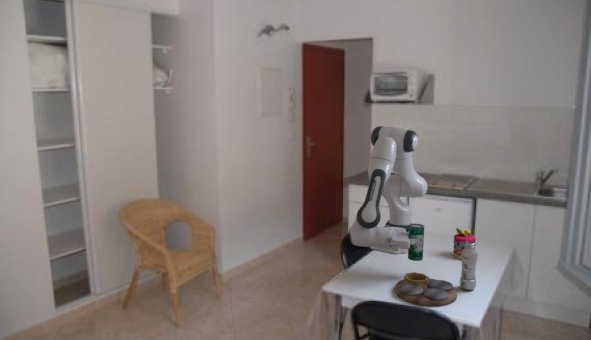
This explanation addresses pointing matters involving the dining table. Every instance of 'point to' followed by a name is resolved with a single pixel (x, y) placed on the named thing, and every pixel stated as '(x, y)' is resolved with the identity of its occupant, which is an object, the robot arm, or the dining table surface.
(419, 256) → the can
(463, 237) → the cake
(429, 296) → the wooden stone platter
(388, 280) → the dining table surface
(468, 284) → the plastic bottle
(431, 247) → the dining table surface
